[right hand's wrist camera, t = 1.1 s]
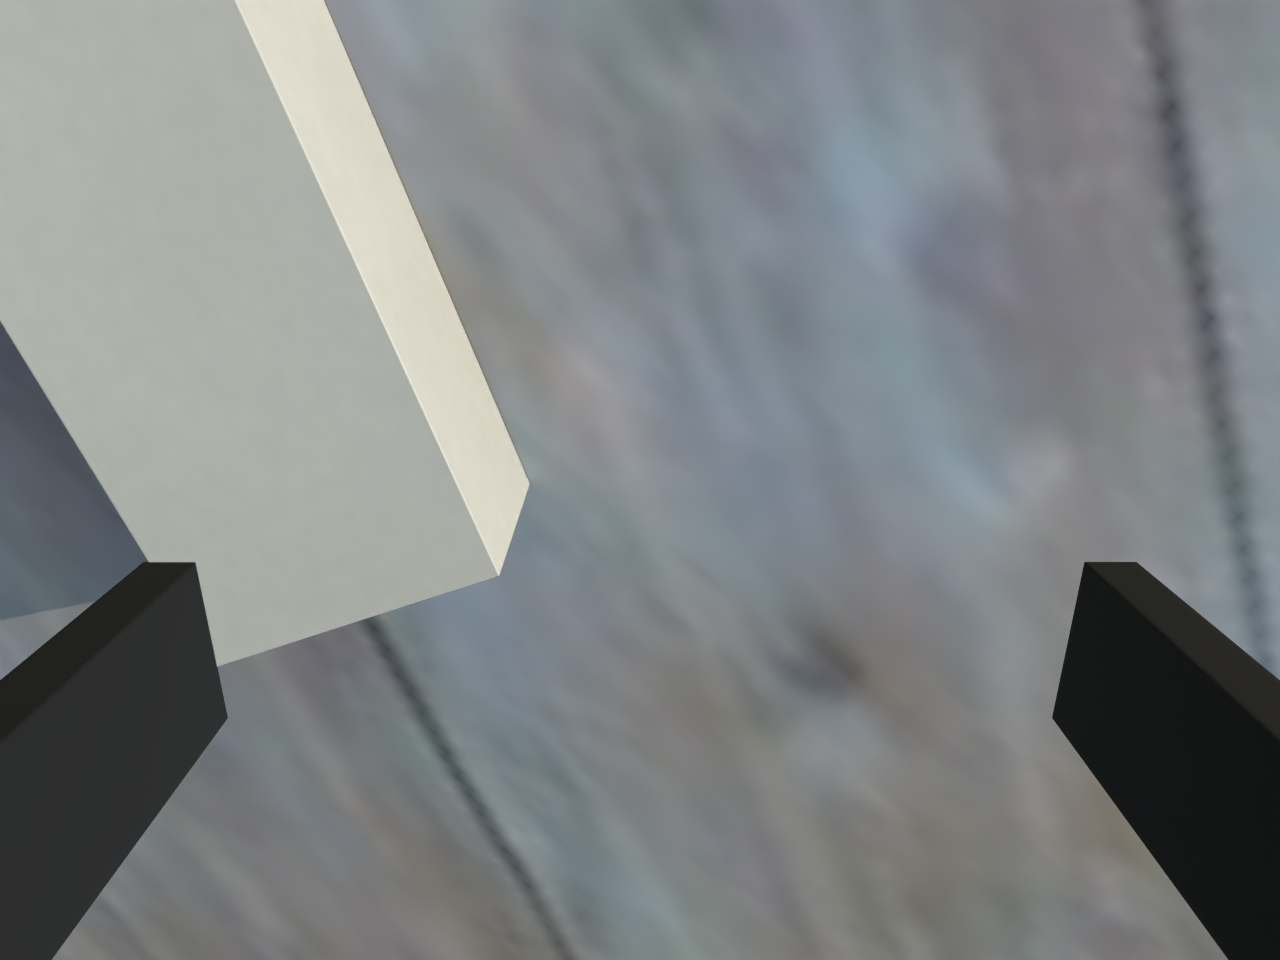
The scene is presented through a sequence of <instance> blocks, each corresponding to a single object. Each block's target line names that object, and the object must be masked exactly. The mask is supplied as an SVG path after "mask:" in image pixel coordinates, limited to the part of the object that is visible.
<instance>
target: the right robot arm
mask: <svg viewBox="0 0 1280 960" xmlns="http://www.w3.org/2000/svg"><path fill="white" fill-rule="evenodd" d="M227 718H228V717H227V712H226V707H225V702H224V697H223V693H222V688H221V683H220V678H219V673H218V668H217V664H216V659H215V654H214V649H213V644H212V640H211V635H210V630H209V625H208V620H207V615H206V611H205V606H204V601H203V596H202V591H201V586H200V582H199V577H198V572H197V567H196V562H143V563H142V564H141V565H140V566H138V567H137V568H136V569H135V570H133V571H132V572H131V573H130V574H129V575H127V576H126V577H125V578H124V579H123V580H121V581H120V582H119V583H118V584H117V585H115V586H114V587H113V588H112V589H110V590H109V591H108V592H107V593H106V594H104V595H103V596H102V597H101V598H100V599H98V600H97V601H96V602H95V603H93V604H92V605H91V606H90V607H89V608H87V609H86V610H85V611H84V612H83V613H81V614H80V615H79V616H78V617H77V618H75V619H74V620H73V621H72V622H70V623H69V624H68V625H67V626H66V627H64V628H63V629H62V630H61V631H60V632H58V633H57V634H56V635H55V636H53V637H52V638H51V639H50V640H49V641H47V642H46V643H45V644H44V645H43V646H41V647H40V648H39V649H38V650H37V651H35V652H34V653H33V654H32V655H30V656H29V657H28V658H27V659H26V660H24V661H23V662H22V663H21V664H20V665H18V666H17V667H16V668H15V669H14V670H12V671H11V672H10V673H9V674H7V675H6V676H5V677H4V678H3V679H1V680H0V960H52V958H53V957H54V956H55V954H56V953H57V951H58V950H59V949H60V947H61V946H62V945H63V943H64V942H65V940H66V939H67V938H68V936H69V935H70V934H71V932H72V931H73V929H74V928H75V927H76V925H77V924H78V923H79V921H80V920H81V918H82V917H83V916H84V914H85V913H86V912H87V910H88V909H89V908H90V906H91V905H92V903H93V902H94V901H95V899H96V898H97V897H98V895H99V894H100V892H101V891H102V890H103V888H104V887H105V886H106V884H107V883H108V881H109V880H110V879H111V877H112V876H113V875H114V873H115V872H116V870H117V869H118V868H119V866H120V865H121V864H122V862H123V861H124V860H125V858H126V857H127V855H128V854H129V853H130V851H131V850H132V849H133V847H134V846H135V844H136V843H137V842H138V840H139V839H140V838H141V836H142V835H143V833H144V832H145V831H146V829H147V828H148V827H149V825H150V824H151V822H152V821H153V820H154V818H155V817H156V816H157V814H158V813H159V812H160V810H161V809H162V807H163V806H164V805H165V803H166V802H167V801H168V799H169V798H170V796H171V795H172V794H173V792H174V791H175V790H176V788H177V787H178V785H179V784H180V783H181V781H182V780H183V779H184V777H185V776H186V774H187V773H188V772H189V770H190V769H191V768H192V766H193V765H194V764H195V762H196V761H197V759H198V758H199V757H200V755H201V754H202V753H203V751H204V750H205V748H206V747H207V746H208V744H209V743H210V742H211V740H212V739H213V737H214V736H215V735H216V733H217V732H218V731H219V729H220V728H221V726H222V725H223V724H224V722H225V721H226V720H227ZM1052 718H1053V720H1054V721H1055V722H1056V724H1057V725H1058V726H1059V728H1060V729H1061V731H1062V732H1063V733H1064V735H1065V736H1066V737H1067V739H1068V740H1069V742H1070V743H1071V744H1072V746H1073V747H1074V748H1075V750H1076V751H1077V753H1078V754H1079V755H1080V757H1081V758H1082V759H1083V761H1084V762H1085V764H1086V765H1087V766H1088V768H1089V769H1090V770H1091V772H1092V773H1093V774H1094V776H1095V777H1096V779H1097V780H1098V781H1099V783H1100V784H1101V785H1102V787H1103V788H1104V790H1105V791H1106V792H1107V794H1108V795H1109V796H1110V798H1111V799H1112V801H1113V802H1114V803H1115V805H1116V806H1117V807H1118V809H1119V810H1120V812H1121V813H1122V814H1123V816H1124V817H1125V818H1126V820H1127V821H1128V822H1129V824H1130V825H1131V827H1132V828H1133V829H1134V831H1135V832H1136V833H1137V835H1138V836H1139V838H1140V839H1141V840H1142V842H1143V843H1144V844H1145V846H1146V847H1147V849H1148V850H1149V851H1150V853H1151V854H1152V855H1153V857H1154V858H1155V860H1156V861H1157V862H1158V864H1159V865H1160V866H1161V868H1162V869H1163V870H1164V872H1165V873H1166V875H1167V876H1168V877H1169V879H1170V880H1171V881H1172V883H1173V884H1174V886H1175V887H1176V888H1177V890H1178V891H1179V892H1180V894H1181V895H1182V897H1183V898H1184V899H1185V901H1186V902H1187V903H1188V905H1189V906H1190V908H1191V909H1192V910H1193V912H1194V913H1195V914H1196V916H1197V917H1198V919H1199V920H1200V921H1201V923H1202V924H1203V925H1204V927H1205V928H1206V929H1207V931H1208V932H1209V934H1210V935H1211V936H1212V938H1213V939H1214V940H1215V942H1216V943H1217V945H1218V946H1219V947H1220V949H1221V950H1222V951H1223V953H1224V954H1225V956H1226V957H1227V958H1228V960H1280V680H1279V679H1277V678H1276V677H1275V676H1274V675H1273V674H1271V673H1270V672H1269V671H1268V670H1266V669H1265V668H1264V667H1263V666H1262V665H1260V664H1259V663H1258V662H1257V661H1256V660H1254V659H1253V658H1252V657H1251V656H1250V655H1248V654H1247V653H1246V652H1245V651H1243V650H1242V649H1241V648H1240V647H1239V646H1237V645H1236V644H1235V643H1234V642H1233V641H1231V640H1230V639H1229V638H1228V637H1226V636H1225V635H1224V634H1223V633H1222V632H1220V631H1219V630H1218V629H1217V628H1216V627H1214V626H1213V625H1212V624H1211V623H1210V622H1208V621H1207V620H1206V619H1205V618H1203V617H1202V616H1201V615H1200V614H1199V613H1197V612H1196V611H1195V610H1194V609H1193V608H1191V607H1190V606H1189V605H1188V604H1187V603H1185V602H1184V601H1183V600H1182V599H1180V598H1179V597H1178V596H1177V595H1176V594H1174V593H1173V592H1172V591H1171V590H1170V589H1168V588H1167V587H1166V586H1165V585H1163V584H1162V583H1161V582H1160V581H1159V580H1157V579H1156V578H1155V577H1154V576H1153V575H1151V574H1150V573H1149V572H1148V571H1147V570H1145V569H1144V568H1143V567H1142V566H1140V565H1139V564H1138V563H1137V562H1084V567H1083V572H1082V577H1081V582H1080V586H1079V591H1078V596H1077V601H1076V606H1075V611H1074V615H1073V620H1072V625H1071V630H1070V635H1069V639H1068V644H1067V649H1066V654H1065V659H1064V664H1063V668H1062V673H1061V678H1060V683H1059V688H1058V693H1057V697H1056V702H1055V707H1054V712H1053V717H1052Z"/></svg>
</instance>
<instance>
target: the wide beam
mask: <svg viewBox="0 0 1280 960" xmlns="http://www.w3.org/2000/svg"><path fill="white" fill-rule="evenodd" d="M0 322H1V324H2V325H3V327H4V328H5V330H6V332H7V333H8V335H9V337H10V338H11V340H12V341H13V343H14V345H15V346H16V348H17V350H18V351H19V353H20V354H21V356H22V358H23V359H24V361H25V363H26V364H27V366H28V367H29V369H30V371H31V372H32V374H33V376H34V377H35V379H36V380H37V382H38V384H39V385H40V387H41V388H42V390H43V392H44V393H45V395H46V397H47V398H48V400H49V401H50V403H51V405H52V406H53V408H54V410H55V411H56V413H57V414H58V416H59V418H60V419H61V421H62V423H63V424H64V426H65V427H66V429H67V431H68V432H69V434H70V436H71V437H72V439H73V440H74V442H75V444H76V445H77V447H78V449H79V450H80V452H81V453H82V455H83V457H84V458H85V460H86V462H87V463H88V465H89V466H90V468H91V470H92V471H93V473H94V475H95V476H96V478H97V479H98V481H99V483H100V484H101V486H102V488H103V489H104V491H105V492H106V494H107V496H108V497H109V499H110V500H111V502H112V504H113V505H114V507H115V509H116V510H117V512H118V513H119V515H120V517H121V518H122V520H123V522H124V523H125V525H126V526H127V528H128V530H129V531H130V533H131V535H132V536H133V538H134V539H135V541H136V543H137V544H138V546H139V548H140V549H141V551H142V552H143V554H144V556H145V557H146V559H147V561H148V562H196V567H197V572H198V577H199V582H200V586H201V591H202V596H203V601H204V606H205V611H206V615H207V620H208V625H209V630H210V635H211V640H212V644H213V649H214V654H215V659H216V664H217V666H220V665H223V664H227V663H230V662H233V661H236V660H239V659H242V658H245V657H248V656H251V655H254V654H258V653H261V652H264V651H267V650H270V649H273V648H276V647H279V646H282V645H285V644H289V643H292V642H295V641H298V640H301V639H304V638H307V637H310V636H313V635H316V634H320V633H323V632H326V631H329V630H332V629H335V628H338V627H341V626H344V625H347V624H351V623H354V622H357V621H360V620H363V619H366V618H369V617H372V616H375V615H378V614H382V613H385V612H388V611H391V610H394V609H397V608H400V607H403V606H406V605H409V604H413V603H416V602H419V601H422V600H425V599H428V598H431V597H434V596H437V595H440V594H444V593H447V592H450V591H453V590H456V589H459V588H462V587H465V586H468V585H471V584H475V583H478V582H481V581H484V580H487V579H490V578H493V577H496V576H499V575H500V572H501V569H502V566H503V563H504V560H505V557H506V554H507V551H508V548H509V545H510V542H511V539H512V536H513V533H514V530H515V527H516V524H517V521H518V518H519V515H520V512H521V509H522V506H523V503H524V500H525V497H526V494H527V491H528V488H529V481H528V479H527V477H526V474H525V472H524V470H523V467H522V465H521V463H520V460H519V458H518V456H517V453H516V451H515V449H514V446H513V444H512V442H511V439H510V437H509V434H508V432H507V430H506V427H505V425H504V423H503V420H502V418H501V416H500V413H499V411H498V409H497V406H496V404H495V402H494V399H493V397H492V395H491V392H490V390H489V387H488V385H487V383H486V380H485V378H484V376H483V373H482V371H481V369H480V366H479V364H478V362H477V359H476V357H475V355H474V352H473V350H472V348H471V345H470V343H469V340H468V338H467V336H466V333H465V331H464V329H463V326H462V324H461V322H460V319H459V317H458V315H457V312H456V310H455V308H454V305H453V303H452V301H451V298H450V296H449V294H448V291H447V289H446V286H445V284H444V282H443V279H442V277H441V275H440V272H439V270H438V268H437V265H436V263H435V261H434V258H433V256H432V254H431V251H430V249H429V247H428V244H427V242H426V239H425V237H424V235H423V232H422V230H421V228H420V225H419V223H418V221H417V218H416V216H415V214H414V211H413V209H412V207H411V204H410V202H409V200H408V197H407V195H406V192H405V190H404V188H403V185H402V183H401V181H400V178H399V176H398V174H397V171H396V169H395V167H394V164H393V162H392V160H391V157H390V155H389V153H388V150H387V148H386V145H385V143H384V141H383V138H382V136H381V134H380V131H379V129H378V127H377V124H376V122H375V120H374V117H373V115H372V113H371V110H370V108H369V106H368V103H367V101H366V98H365V96H364V94H363V91H362V89H361V87H360V84H359V82H358V80H357V77H356V75H355V73H354V70H353V68H352V66H351V63H350V61H349V59H348V56H347V54H346V52H345V49H344V47H343V44H342V42H341V40H340V37H339V35H338V33H337V30H336V28H335V26H334V23H333V21H332V19H331V16H330V14H329V12H328V9H327V7H326V5H325V2H324V0H0Z"/></svg>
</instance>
